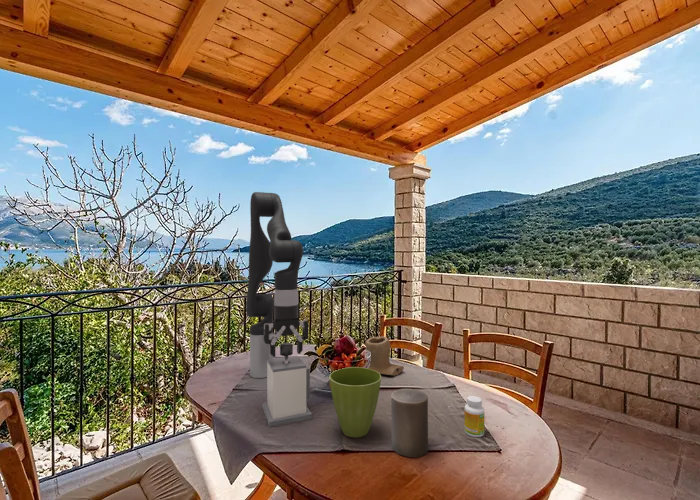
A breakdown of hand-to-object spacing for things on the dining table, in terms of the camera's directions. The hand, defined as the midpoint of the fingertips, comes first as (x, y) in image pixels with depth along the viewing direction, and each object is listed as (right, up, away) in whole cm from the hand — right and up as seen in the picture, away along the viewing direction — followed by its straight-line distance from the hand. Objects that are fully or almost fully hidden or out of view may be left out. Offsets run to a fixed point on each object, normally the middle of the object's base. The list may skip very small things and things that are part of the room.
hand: (286, 354), depth 112 cm
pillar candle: (+36, -19, -18) cm, 45 cm away
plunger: (0, -16, 0) cm, 16 cm away
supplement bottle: (+56, -19, -11) cm, 60 cm away
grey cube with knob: (0, -19, 0) cm, 19 cm away
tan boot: (+34, -19, +36) cm, 53 cm away
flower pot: (+22, -19, -10) cm, 31 cm away
